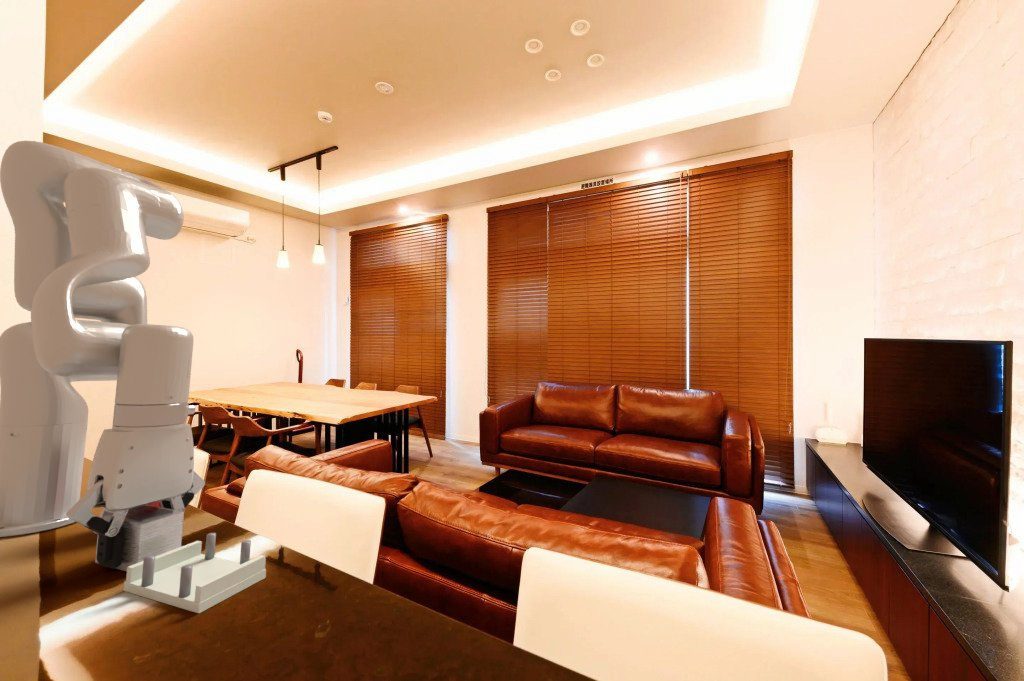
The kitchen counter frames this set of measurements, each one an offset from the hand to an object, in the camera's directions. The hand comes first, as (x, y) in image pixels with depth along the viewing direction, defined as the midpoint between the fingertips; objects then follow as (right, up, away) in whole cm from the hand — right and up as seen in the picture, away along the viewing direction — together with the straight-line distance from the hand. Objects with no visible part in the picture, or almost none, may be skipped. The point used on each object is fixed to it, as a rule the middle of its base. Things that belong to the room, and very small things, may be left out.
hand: (139, 553), depth 54 cm
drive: (0, -1, 0) cm, 1 cm away
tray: (+12, -1, -6) cm, 13 cm away
